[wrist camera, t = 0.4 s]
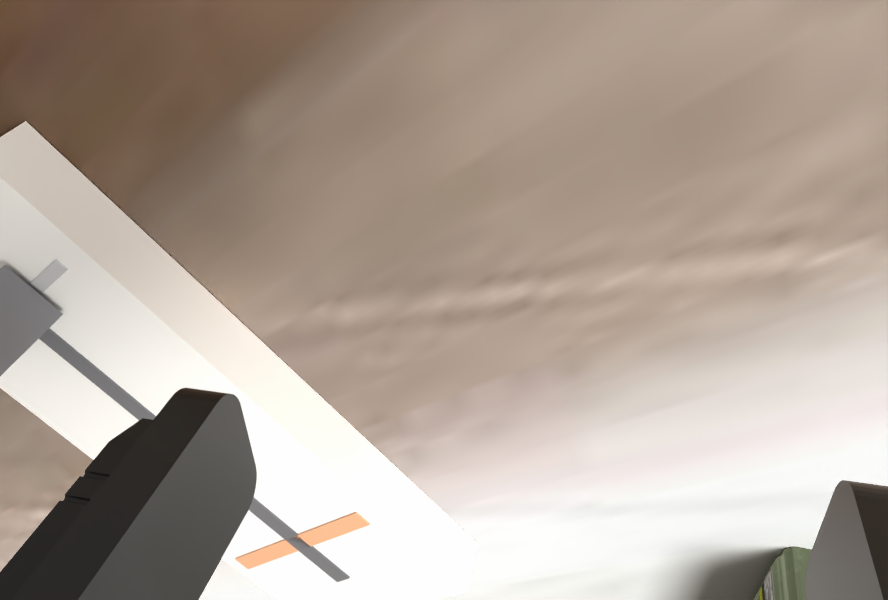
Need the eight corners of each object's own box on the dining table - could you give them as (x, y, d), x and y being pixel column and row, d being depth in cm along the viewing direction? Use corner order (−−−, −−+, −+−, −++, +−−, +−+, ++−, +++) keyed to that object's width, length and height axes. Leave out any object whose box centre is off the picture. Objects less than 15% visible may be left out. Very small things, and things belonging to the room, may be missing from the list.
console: (-82, 251, 37) (-133, 287, 35) (25, 121, 31) (-28, 154, 28) (333, 588, 48) (316, 634, 45) (478, 543, 41) (466, 593, 39)
